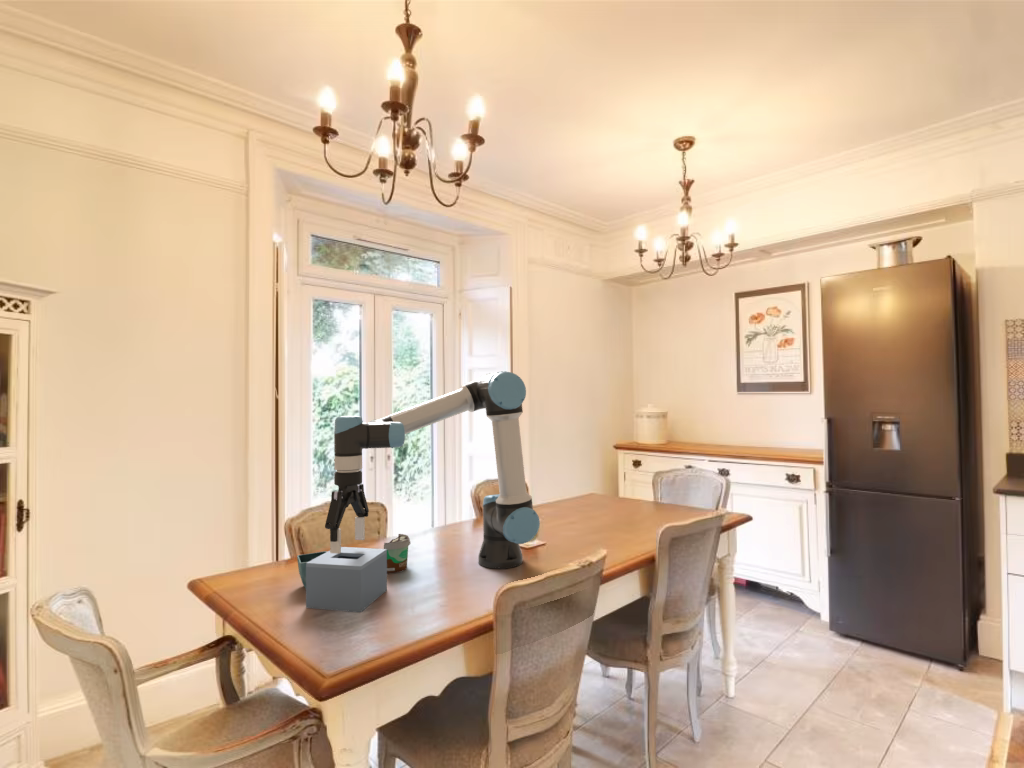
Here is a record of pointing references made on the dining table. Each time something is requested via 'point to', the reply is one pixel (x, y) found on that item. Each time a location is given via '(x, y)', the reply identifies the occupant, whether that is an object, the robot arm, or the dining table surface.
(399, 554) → the food container
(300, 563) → the flower pot
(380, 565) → the coin box
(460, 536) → the dining table surface
